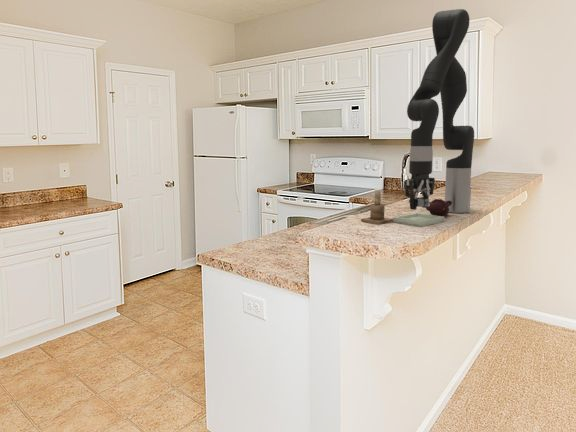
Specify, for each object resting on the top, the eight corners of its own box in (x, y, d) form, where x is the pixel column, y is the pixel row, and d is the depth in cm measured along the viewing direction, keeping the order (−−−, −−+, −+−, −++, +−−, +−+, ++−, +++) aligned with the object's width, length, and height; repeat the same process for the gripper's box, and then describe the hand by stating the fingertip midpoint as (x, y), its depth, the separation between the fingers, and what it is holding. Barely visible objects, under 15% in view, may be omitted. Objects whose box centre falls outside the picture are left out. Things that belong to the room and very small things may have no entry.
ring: (434, 205, 159) (434, 198, 159) (423, 207, 155) (424, 200, 155) (414, 203, 165) (415, 196, 165) (404, 205, 161) (404, 198, 161)
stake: (376, 218, 169) (376, 188, 167) (393, 221, 162) (394, 190, 161) (360, 221, 164) (361, 190, 162) (378, 224, 158) (379, 192, 156)
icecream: (438, 203, 162) (460, 202, 172) (421, 195, 168) (444, 195, 177) (431, 221, 164) (454, 220, 174) (415, 213, 170) (438, 212, 179)
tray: (416, 217, 170) (416, 212, 170) (444, 221, 161) (444, 216, 161) (392, 222, 162) (392, 217, 161) (420, 226, 153) (420, 221, 152)
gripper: (417, 160, 150) (415, 211, 153) (442, 159, 159) (440, 207, 162) (398, 160, 156) (397, 209, 159) (424, 158, 165) (422, 205, 168)
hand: (419, 208), depth 160 cm, fingers closed on ring, 6 cm apart
